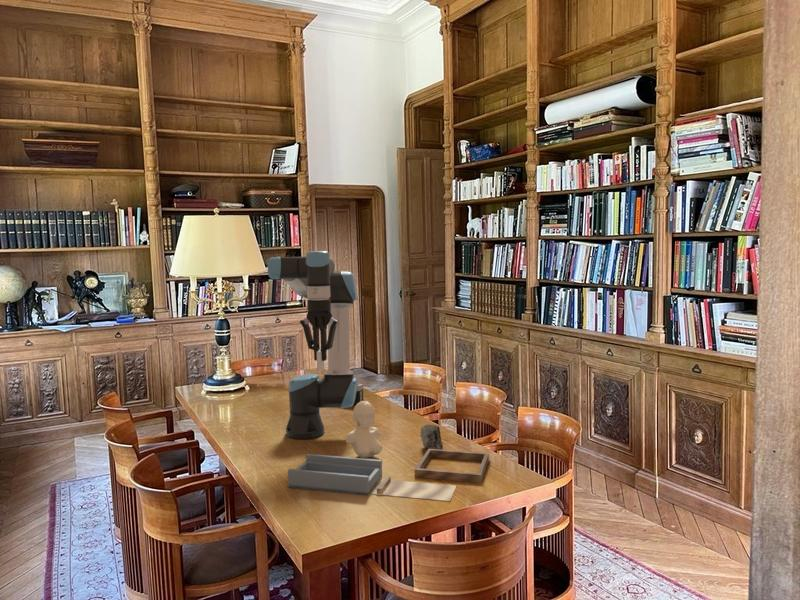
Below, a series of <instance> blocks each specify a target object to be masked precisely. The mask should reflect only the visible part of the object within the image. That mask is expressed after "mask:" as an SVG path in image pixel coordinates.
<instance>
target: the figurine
mask: <svg viewBox="0 0 800 600" xmlns="http://www.w3.org/2000/svg"><path fill="white" fill-rule="evenodd" d="M351 415H352V416H351V417H352V420H353V422H354V424H355V426H356V427H355V428H353V430H352V431H350V432H348V433H347V435H346V437H345V442H346V443H347V444H350V446H351V447H352V449H353V451H354V453H355V454H356V455H357V456H358V458H364V459H370V458H372V457H374V456H376V455H377V456H378V455H380V453H381V452H382V451H383V445H382V444H381V442H380V440H379V438H380V435H381V434H380V430H379V428H378V427H375V426H374V427H373V425H374V424H375V421H376V419H375V417H376V410H375V408H374V406H373V405H372V404H371V402H369V401H367V400H363V401H361V402H359V403H358V404H356V406H355V405H354V407H353V410H352V414H351Z"/></svg>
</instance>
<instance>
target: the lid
mask: <svg viewBox="0 0 800 600" xmlns="http://www.w3.org/2000/svg"><path fill="white" fill-rule="evenodd" d="M456 488H457V485H454V484H453V485H452V484H441V483H428V482H419V481H406V480H394V479H391V476H387V475H386V476H385V477H383V478H381V479H380V480H379V482H378V483H377V484H376V485H375V487H374V488H373V489H372V491H371V492H370V493H369V495H373V496H375V495H376V496H386V497H396V498H407V499H415V500H416V499H418V500H426V501H436V500H437V501H438V502H448V503H449V502H451V501H452V498H453V495H454V494H455V491H456Z"/></svg>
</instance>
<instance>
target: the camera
mask: <svg viewBox="0 0 800 600" xmlns="http://www.w3.org/2000/svg"><path fill="white" fill-rule="evenodd" d="M361 401H364V384H361V383H358V382H357V391H356V397H355V402H354V404H353V406H355V405H356V404H358V403H359V402H361Z"/></svg>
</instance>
